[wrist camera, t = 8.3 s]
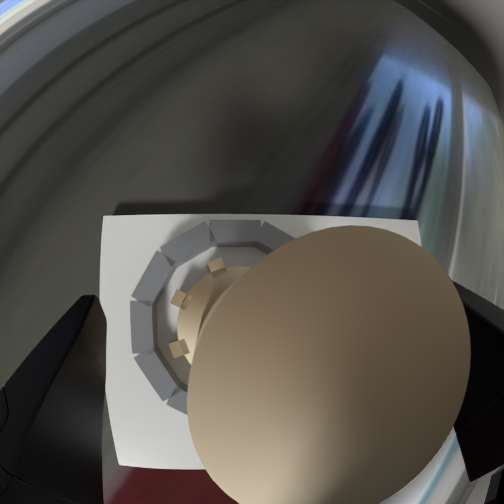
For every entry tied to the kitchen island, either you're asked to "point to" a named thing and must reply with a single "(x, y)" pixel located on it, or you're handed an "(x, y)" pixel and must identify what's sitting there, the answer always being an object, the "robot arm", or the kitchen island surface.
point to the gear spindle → (323, 367)
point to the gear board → (176, 313)
